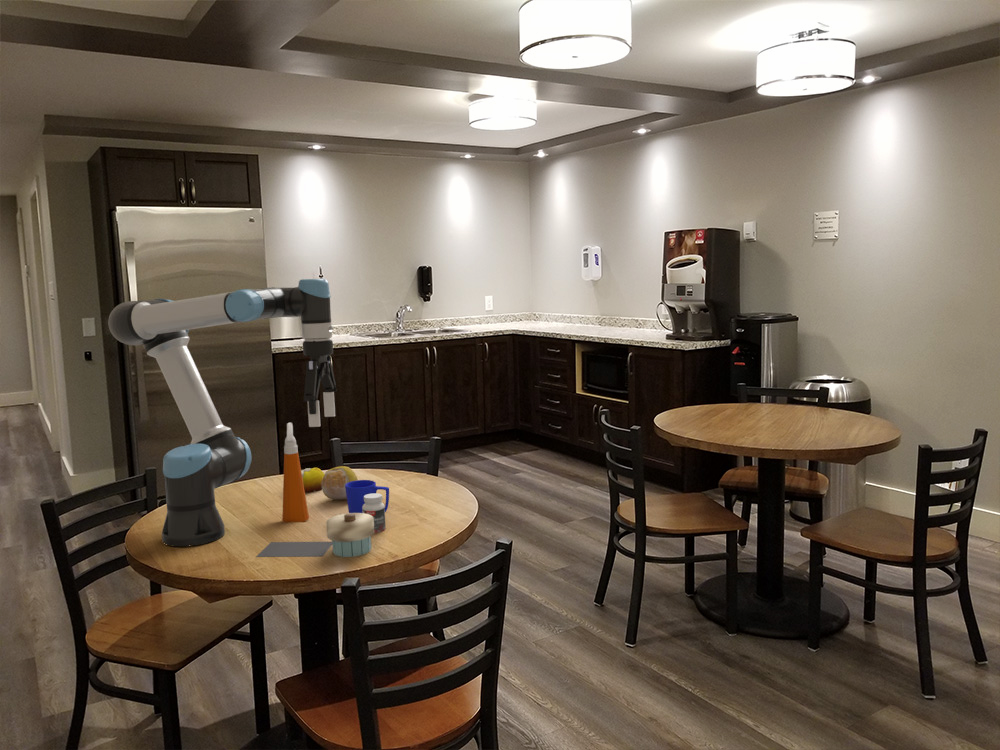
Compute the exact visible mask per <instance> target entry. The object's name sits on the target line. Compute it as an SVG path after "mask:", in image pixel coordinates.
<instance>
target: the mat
mask: <svg viewBox="0 0 1000 750" xmlns="http://www.w3.org/2000/svg"><path fill="white" fill-rule="evenodd" d="M331 547H332V541H270V542H269V544H268V545H266V546H265V547H264V548H263V549H262V550H261V551H260V552H259V553H258V554H257V555H256V556H255V557H256V558H282V557H283V558H287V557H289V558H290V557H291V558H292V557H293V558H294V557H295V558H296V557H297V558H300V557H301V558H303V557H307V558H308V557H310V558H311V557H313V558H315V557H317V558H319V557H324V555H325V554H326V553H327V552H328V550H329V549H330V548H331Z"/></svg>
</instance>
